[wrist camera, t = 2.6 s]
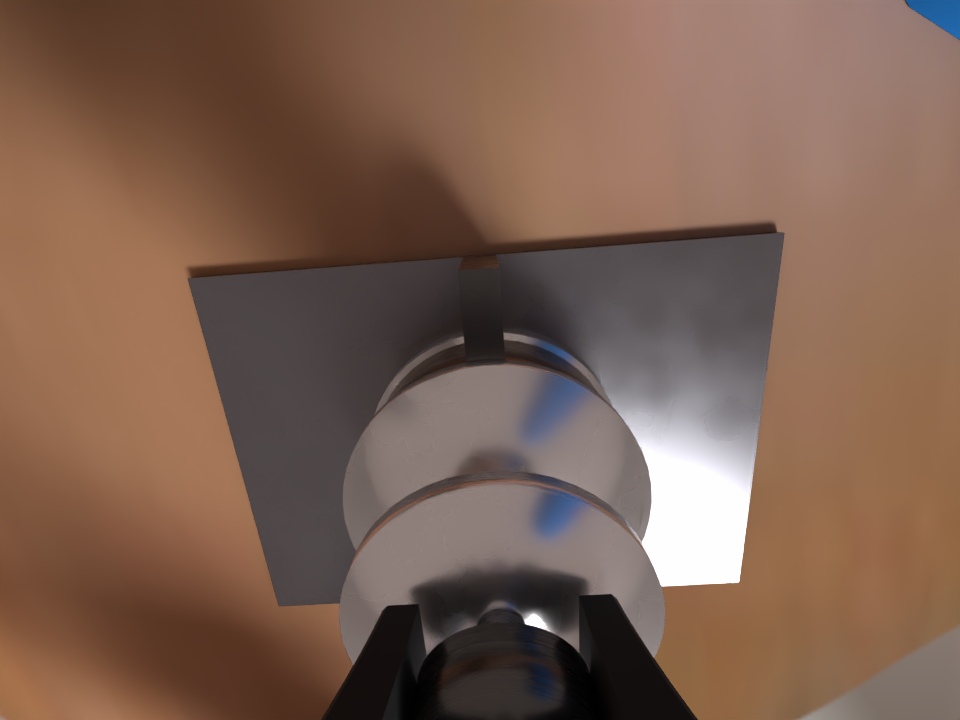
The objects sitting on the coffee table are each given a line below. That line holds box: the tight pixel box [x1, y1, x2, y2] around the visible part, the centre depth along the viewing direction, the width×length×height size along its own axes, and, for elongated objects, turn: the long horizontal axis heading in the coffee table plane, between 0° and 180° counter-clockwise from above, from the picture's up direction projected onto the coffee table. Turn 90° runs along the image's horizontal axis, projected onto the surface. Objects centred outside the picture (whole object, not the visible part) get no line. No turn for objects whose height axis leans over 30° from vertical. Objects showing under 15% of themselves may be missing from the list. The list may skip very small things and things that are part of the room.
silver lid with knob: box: [339, 470, 665, 720], centre depth 8 cm, size 6×6×3 cm
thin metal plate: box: [188, 232, 784, 606], centre depth 14 cm, size 13×18×4 cm
